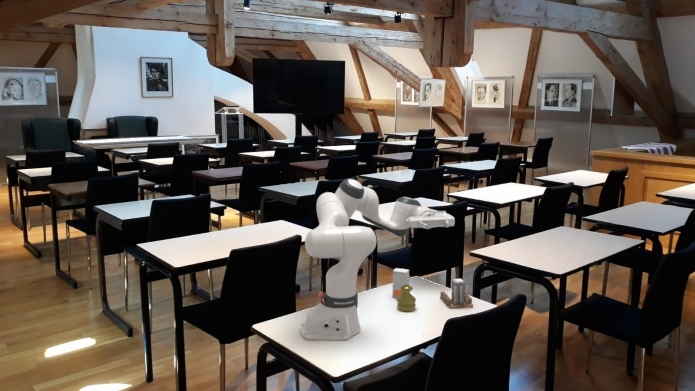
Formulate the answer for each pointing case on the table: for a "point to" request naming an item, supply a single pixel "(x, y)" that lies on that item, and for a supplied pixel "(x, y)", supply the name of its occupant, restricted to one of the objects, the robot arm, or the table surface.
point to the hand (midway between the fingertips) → (436, 225)
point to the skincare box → (399, 281)
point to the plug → (458, 290)
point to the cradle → (448, 301)
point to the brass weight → (406, 299)
